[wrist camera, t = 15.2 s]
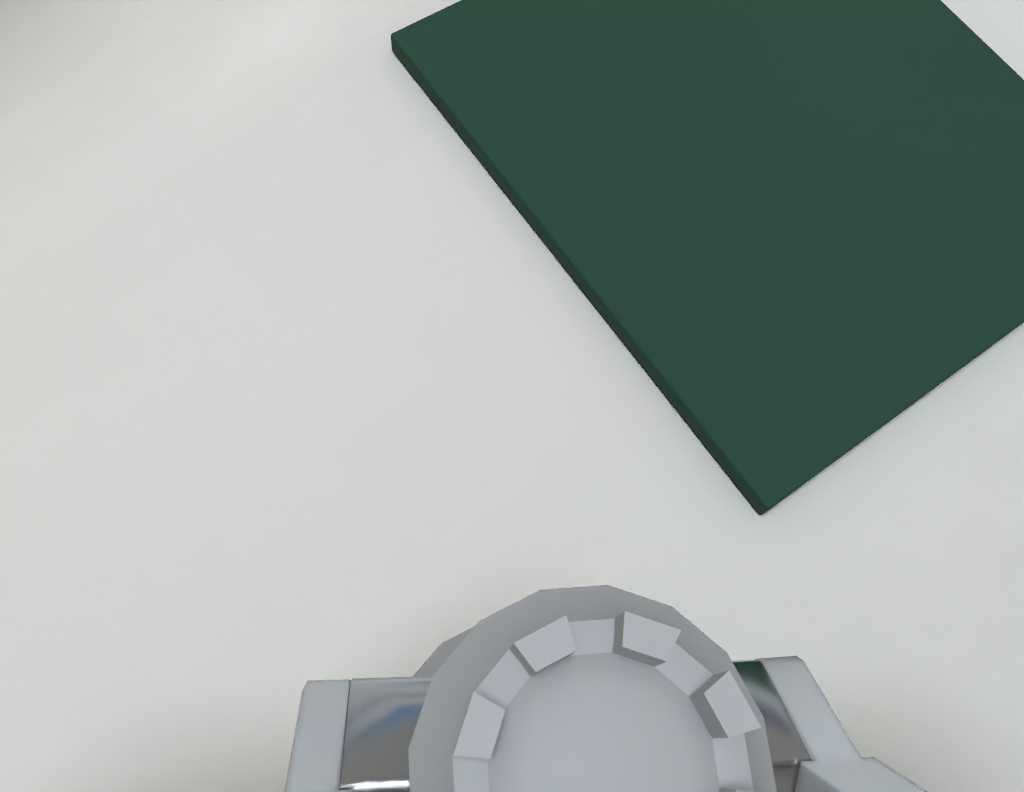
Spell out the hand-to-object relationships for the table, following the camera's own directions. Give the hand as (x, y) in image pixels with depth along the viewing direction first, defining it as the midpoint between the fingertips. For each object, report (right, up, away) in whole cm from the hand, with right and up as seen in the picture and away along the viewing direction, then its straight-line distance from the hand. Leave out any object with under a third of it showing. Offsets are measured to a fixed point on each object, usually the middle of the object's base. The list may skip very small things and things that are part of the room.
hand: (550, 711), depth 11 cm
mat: (+8, +13, +20) cm, 25 cm away
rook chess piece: (0, -2, +4) cm, 5 cm away
